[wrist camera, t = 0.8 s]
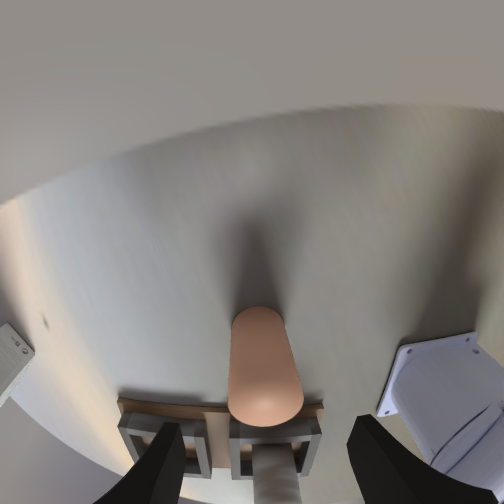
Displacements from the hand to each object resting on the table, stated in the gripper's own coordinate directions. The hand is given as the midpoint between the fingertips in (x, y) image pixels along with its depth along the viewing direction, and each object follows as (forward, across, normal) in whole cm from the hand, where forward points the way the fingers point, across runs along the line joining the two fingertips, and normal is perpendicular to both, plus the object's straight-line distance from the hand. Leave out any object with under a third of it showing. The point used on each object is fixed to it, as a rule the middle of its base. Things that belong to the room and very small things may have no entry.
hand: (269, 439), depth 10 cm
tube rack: (+9, +3, +12) cm, 15 cm away
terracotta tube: (+9, 0, 0) cm, 9 cm away
